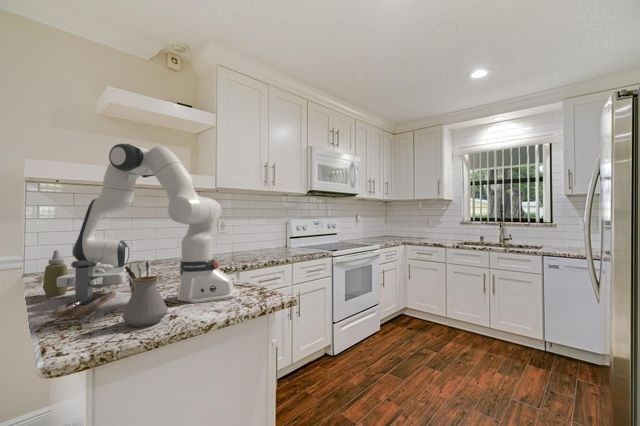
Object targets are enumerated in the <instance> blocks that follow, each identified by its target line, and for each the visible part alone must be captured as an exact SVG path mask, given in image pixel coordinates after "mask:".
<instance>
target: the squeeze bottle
mask: <svg viewBox="0 0 640 426" xmlns="http://www.w3.org/2000/svg"><path fill="white" fill-rule="evenodd" d="M64 262H65V259H64V258H61V254H60V251H59V250H54V251H53V253H52V258H51V259H48V265H46V266H45V269H44V276H43V283H42V290H43V292H44V294H45V296H46V297H57V296H59V297H60V296H62V295H65V294H66V293H67V291H68V289H69V287H57V278H58V277H60V276H64V275H69V271H68V266H67V264H65V263H64Z"/></svg>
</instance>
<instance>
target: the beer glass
mask: <svg viewBox="0 0 640 426" xmlns="http://www.w3.org/2000/svg"><path fill="white" fill-rule="evenodd" d="M128 267H129V269H131V271H132V272H133V273H134V275H135V276H136V278H139V277H147V276H152V271H151V270H152V269H151V261H150V260H146V259H145V260H133V261H128ZM127 275H128V276H127V277H128V278H127V279H128V285H129V288H130V296H131V295H132V293H133V291H134V289H135V287H136V286H135V282H134V281H133V279H132V278H131V277H130V275H129V273H128V272H127Z"/></svg>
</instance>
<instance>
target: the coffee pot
mask: <svg viewBox="0 0 640 426" xmlns="http://www.w3.org/2000/svg"><path fill="white" fill-rule="evenodd" d="M123 269H124V268H123ZM123 269H122V271H123ZM125 269H126V273H127V274H128V273H129V275H130V277H131V278H132V279H133V281H134V282H135V286H136V287H135V289H134V291H133V293H132V295H131V294H130V298H129V299H128V303H127V304H126V306H125V309H124V311H123V312H122V317H121V318H122V319H123V321H124V323H126V324H129V325H130V327H135V328H140V327H148V326H152V325H156V324H158V323H159V322H161V320H162V319H163V318H164V317H165V316H166V315H167V313H168V306H167V305H166V302H165V301H164V298H163V296H162V295H161V293H160V291H159V289H158V287H157V280H158V279H159V276H157V275H155V276H154V275H151V276H147V277H139V278H136V276H135V275H134V273H133V272H132V271H131V269H129V266H126V265H125ZM123 272H124V271H123Z"/></svg>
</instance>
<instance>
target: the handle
mask: <svg viewBox="0 0 640 426" xmlns="http://www.w3.org/2000/svg"><path fill="white" fill-rule="evenodd" d="M96 265H98V262H96V261H95V260H86V261H78V260H74V261H72V262H71V264H70V267H71V268H72V269H75V274H76V284H75V286H74V289H75V291H74V292H75V298H74V299H75V300H74V299H73V300H74V301H72V300H71V301H72V305H70V306H68V310H72V309H74V308H76V307H77V306H79V305H81V304H89V303H91V302H93V301H94V300H96V297H92V293H93V288H92V285H89V280H92V267H95V266H96Z"/></svg>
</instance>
